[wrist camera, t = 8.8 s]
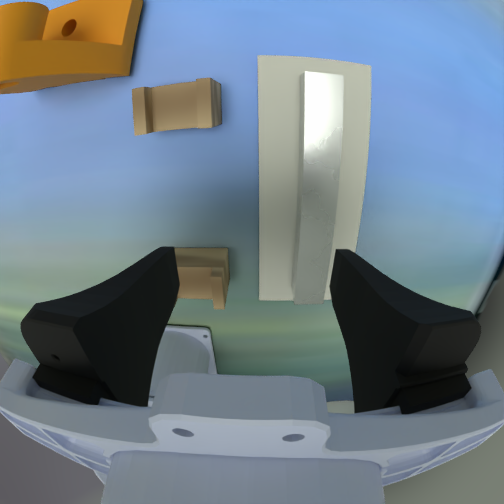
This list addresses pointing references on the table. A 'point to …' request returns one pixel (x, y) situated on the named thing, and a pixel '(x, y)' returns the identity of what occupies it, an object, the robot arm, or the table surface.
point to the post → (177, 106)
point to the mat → (287, 160)
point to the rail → (317, 182)
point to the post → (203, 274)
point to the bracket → (65, 43)
